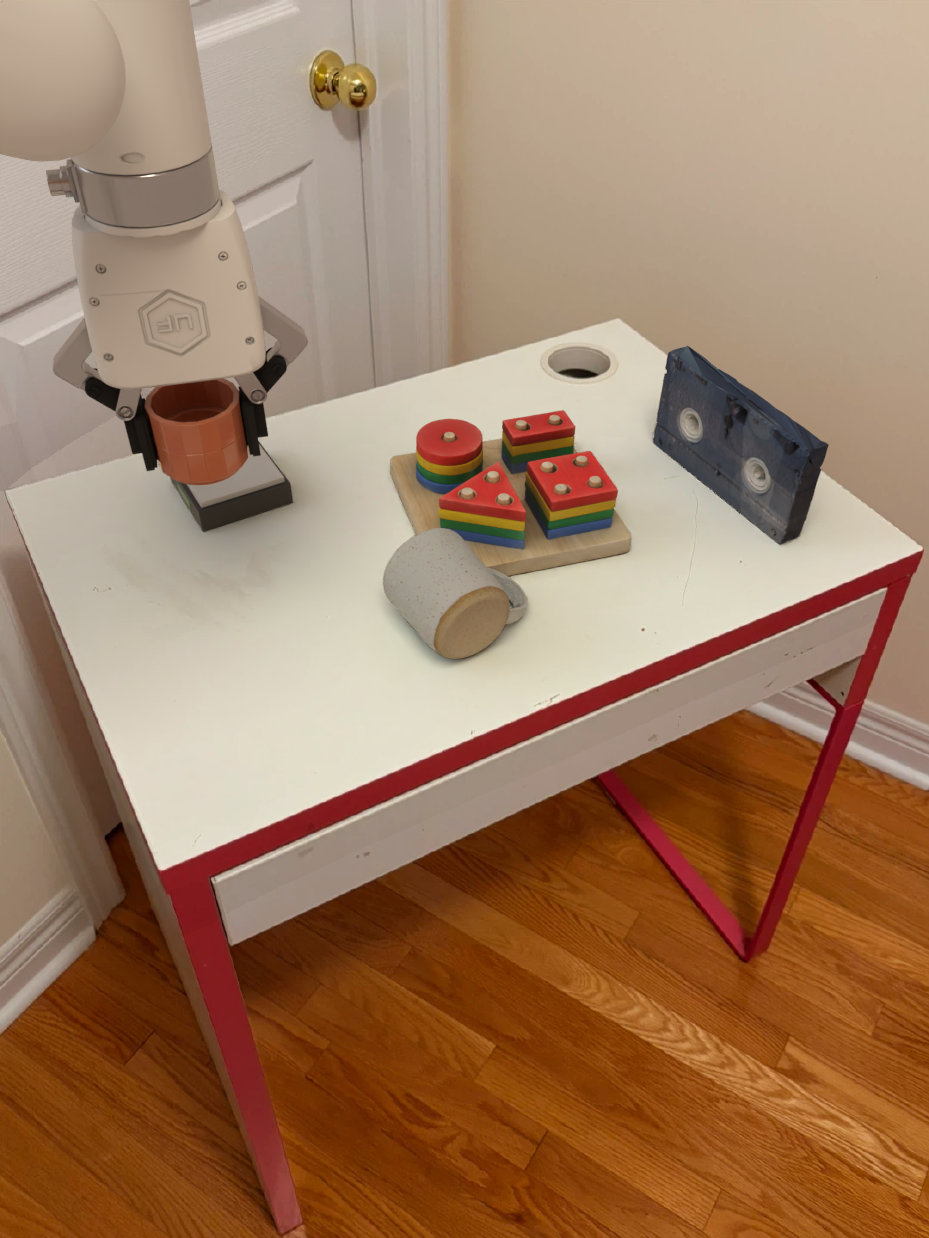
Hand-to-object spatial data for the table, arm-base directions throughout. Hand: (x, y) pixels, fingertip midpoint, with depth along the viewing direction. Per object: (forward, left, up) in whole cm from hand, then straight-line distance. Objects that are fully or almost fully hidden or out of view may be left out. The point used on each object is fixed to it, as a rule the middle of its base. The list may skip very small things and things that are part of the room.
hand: (202, 449), depth 71 cm
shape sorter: (+16, +21, -18) cm, 32 cm away
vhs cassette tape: (+35, +30, -18) cm, 50 cm away
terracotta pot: (0, 0, -1) cm, 1 cm away
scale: (-8, +17, -18) cm, 26 cm away
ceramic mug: (+16, +6, -18) cm, 25 cm away
